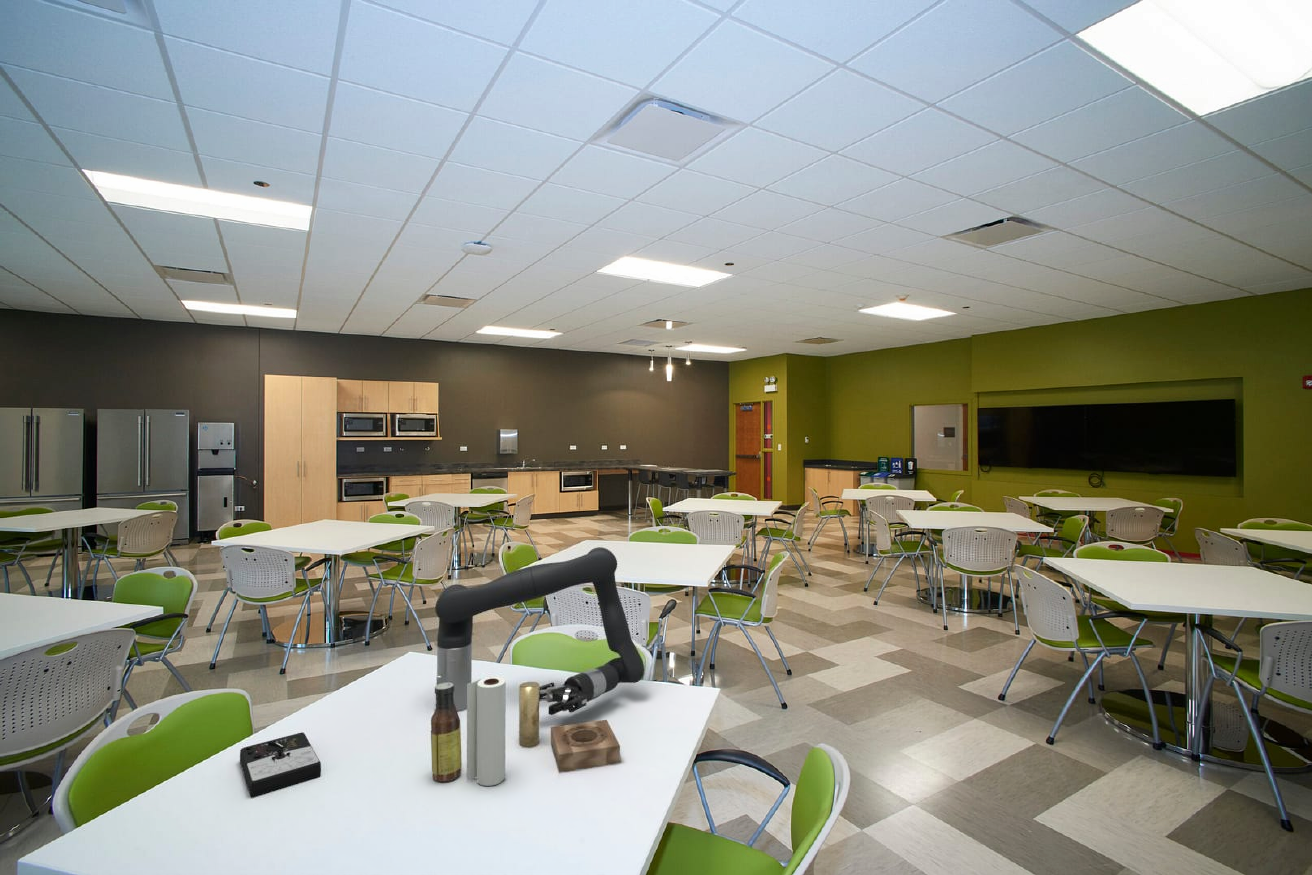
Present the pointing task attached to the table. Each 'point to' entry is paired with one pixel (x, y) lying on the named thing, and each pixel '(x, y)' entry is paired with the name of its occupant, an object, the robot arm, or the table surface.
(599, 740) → the jig
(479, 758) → the paper towel roll
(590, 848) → the table surface
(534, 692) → the yellow cylinder peg
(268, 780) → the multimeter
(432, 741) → the sauce bottle
